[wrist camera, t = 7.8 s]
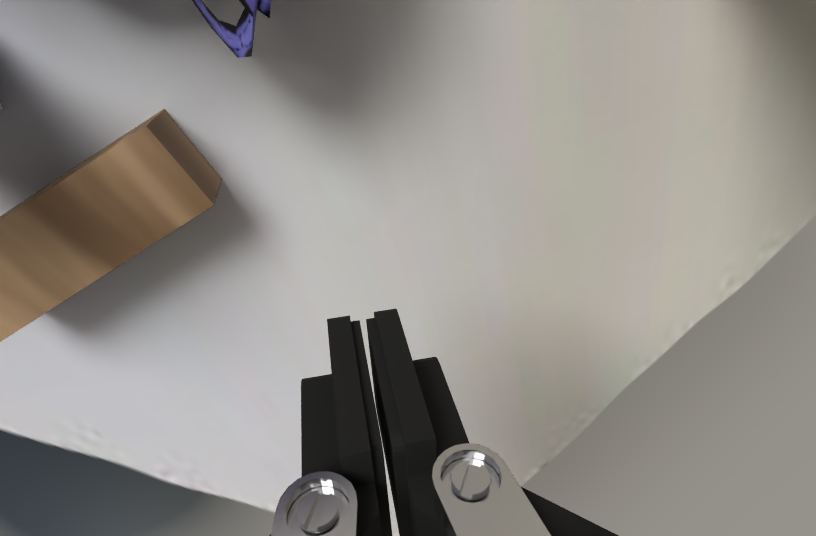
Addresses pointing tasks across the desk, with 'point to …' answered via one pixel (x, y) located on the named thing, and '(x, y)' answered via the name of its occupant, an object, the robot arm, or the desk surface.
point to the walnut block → (99, 217)
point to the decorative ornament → (243, 32)
